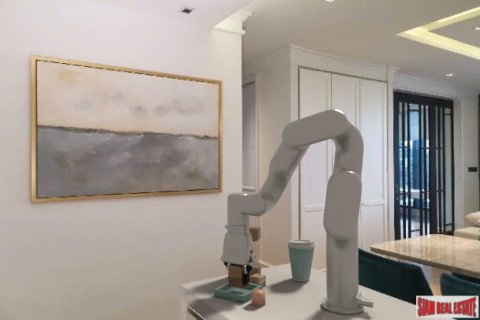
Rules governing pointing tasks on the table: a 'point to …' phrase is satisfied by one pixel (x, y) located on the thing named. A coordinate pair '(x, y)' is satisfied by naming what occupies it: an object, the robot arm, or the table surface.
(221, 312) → the table surface
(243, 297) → the tray
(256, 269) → the decorative block
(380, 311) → the table surface
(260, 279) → the oak cube
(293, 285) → the table surface
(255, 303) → the peach round blob
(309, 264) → the disposable coffee cup
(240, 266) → the walnut block
